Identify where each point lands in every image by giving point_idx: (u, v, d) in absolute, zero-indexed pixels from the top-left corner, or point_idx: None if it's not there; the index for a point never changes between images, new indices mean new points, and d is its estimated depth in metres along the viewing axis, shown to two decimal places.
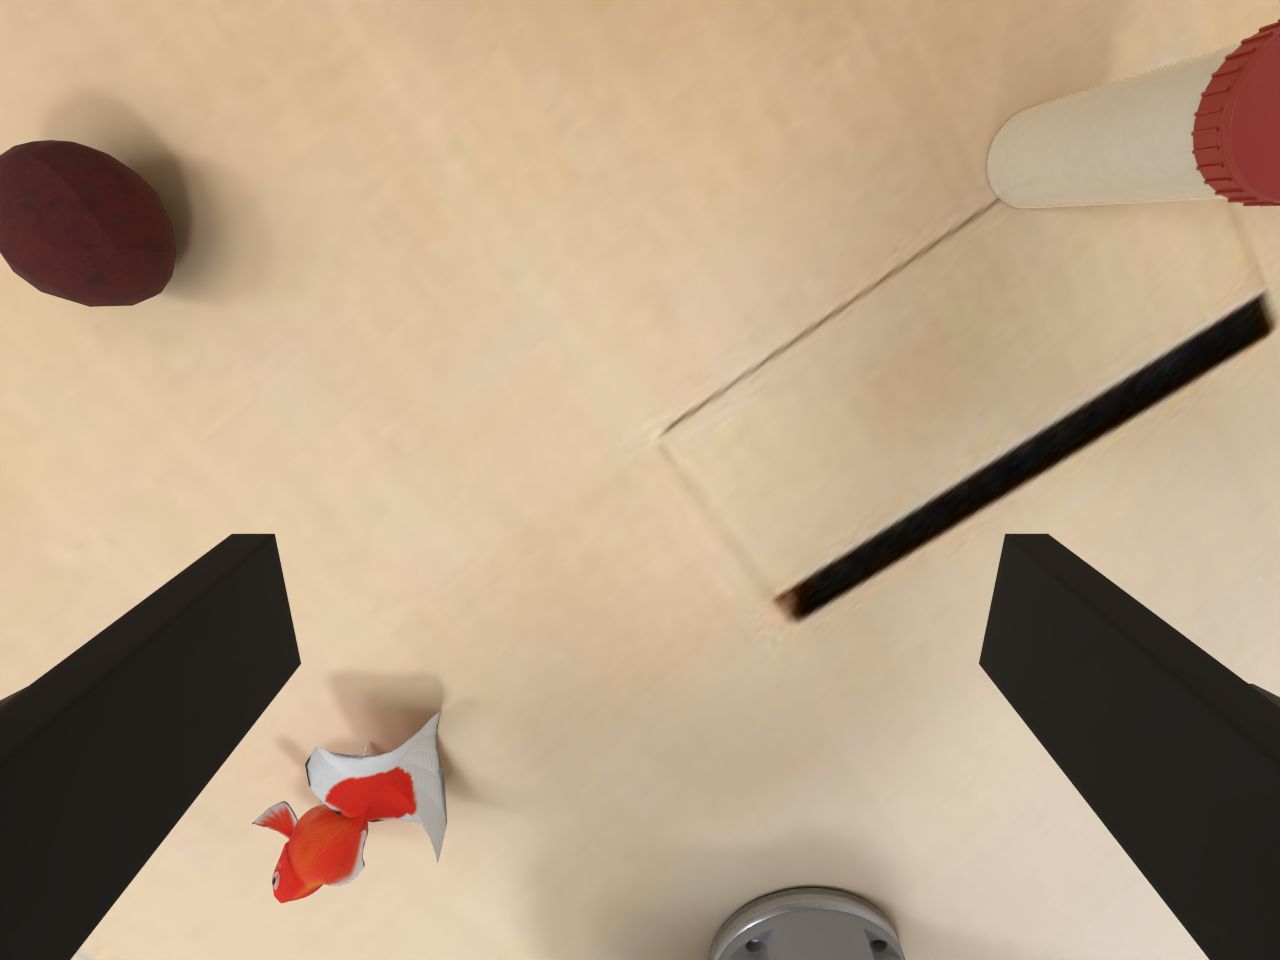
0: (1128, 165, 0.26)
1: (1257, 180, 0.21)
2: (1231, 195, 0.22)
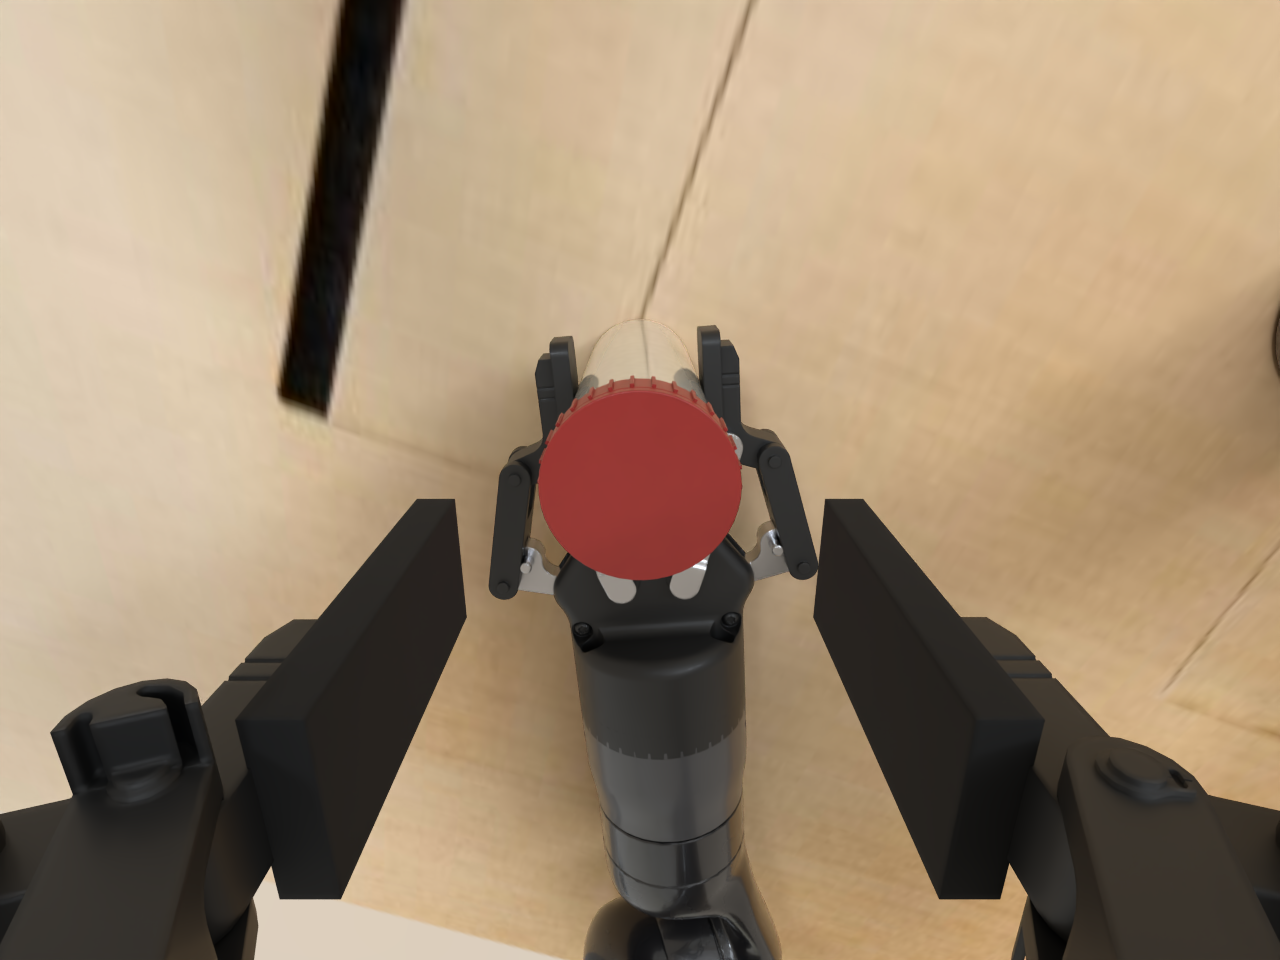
0: (673, 369, 0.22)
1: (637, 399, 0.17)
2: (622, 382, 0.18)
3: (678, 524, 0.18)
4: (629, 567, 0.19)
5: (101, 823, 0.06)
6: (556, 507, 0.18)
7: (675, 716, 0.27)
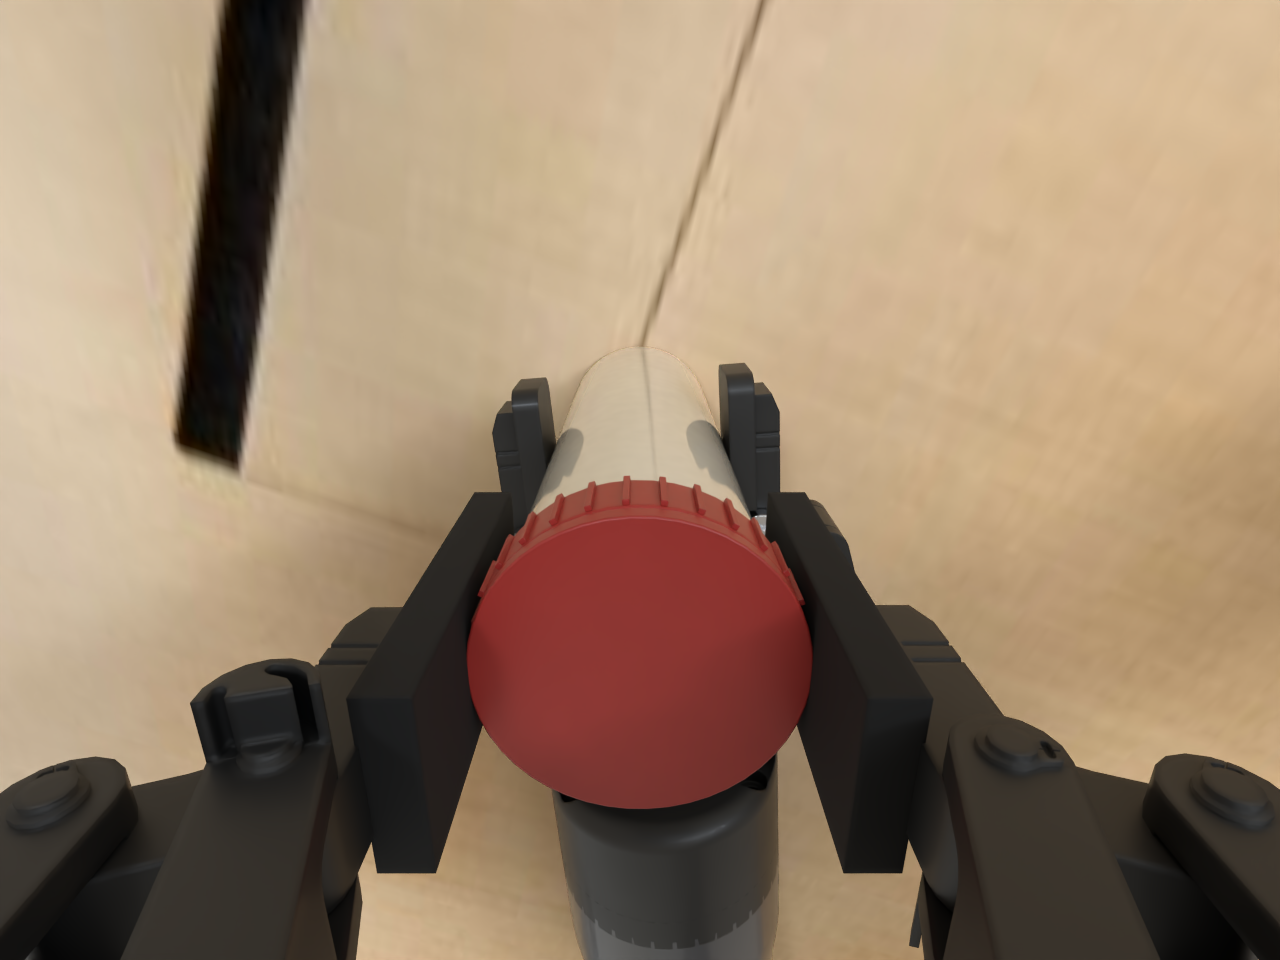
0: (689, 441, 0.14)
1: (635, 531, 0.10)
2: (610, 490, 0.11)
3: (704, 726, 0.11)
4: (622, 790, 0.11)
5: (232, 792, 0.07)
6: (498, 702, 0.11)
7: (687, 897, 0.20)
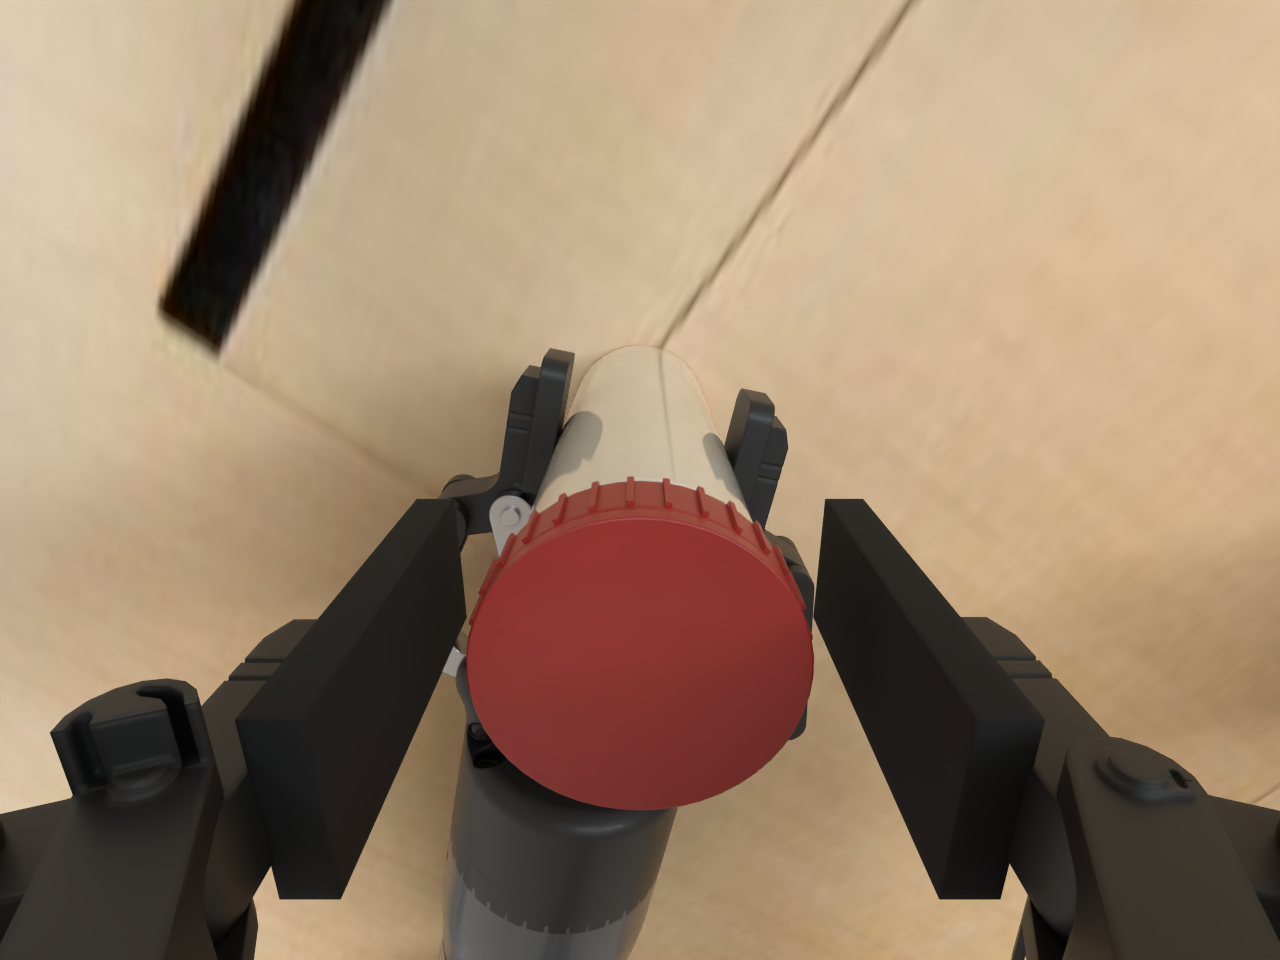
0: (714, 453, 0.15)
1: (482, 691, 0.10)
2: None
3: (698, 615, 0.10)
4: (787, 681, 0.10)
5: (100, 823, 0.06)
6: (680, 787, 0.11)
7: (573, 885, 0.20)
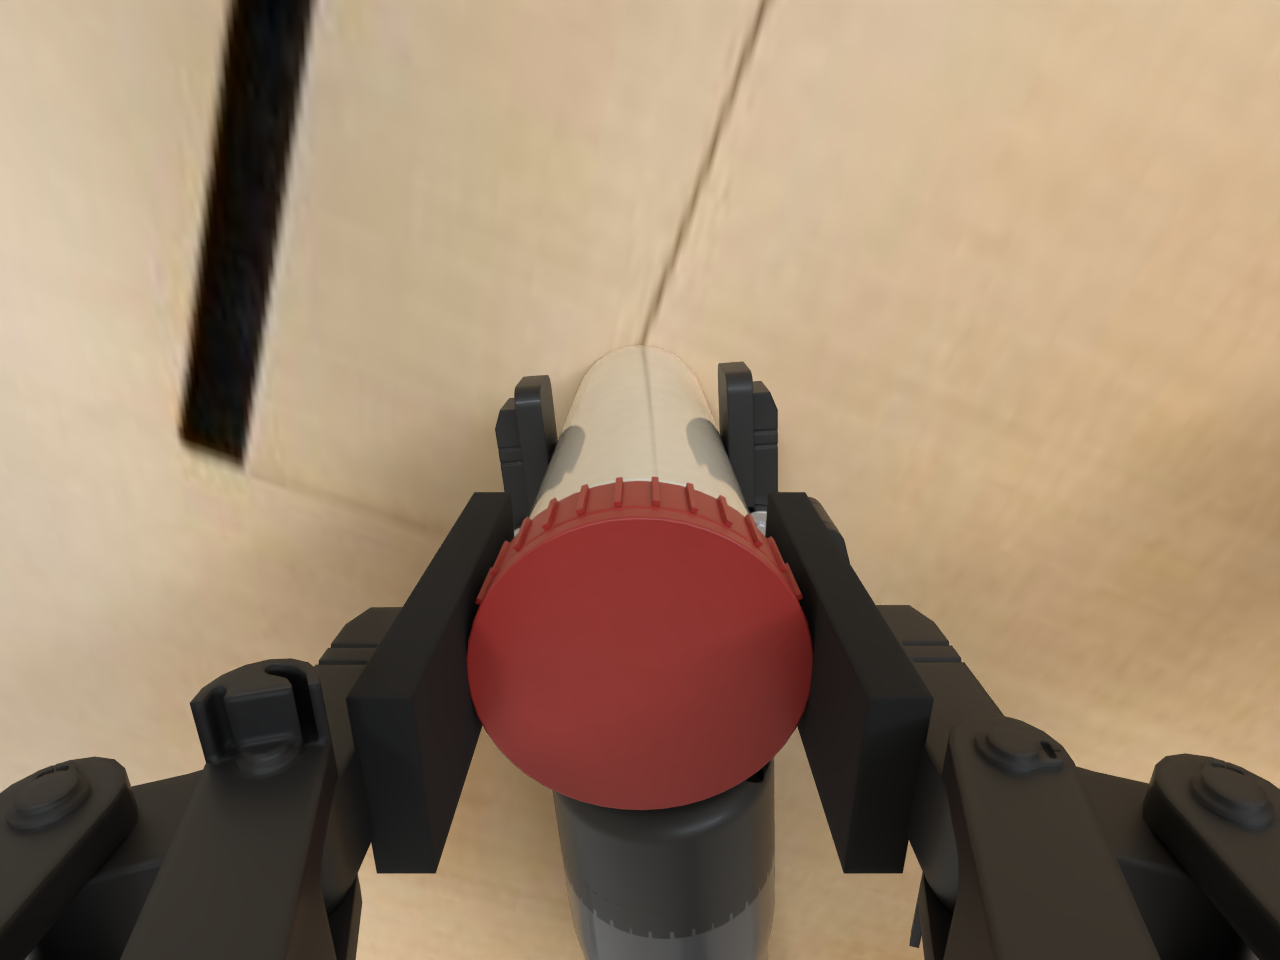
0: (689, 437, 0.15)
1: (497, 726, 0.11)
2: None
3: (677, 602, 0.10)
4: (786, 646, 0.10)
5: (231, 792, 0.07)
6: (715, 774, 0.11)
7: (685, 887, 0.20)
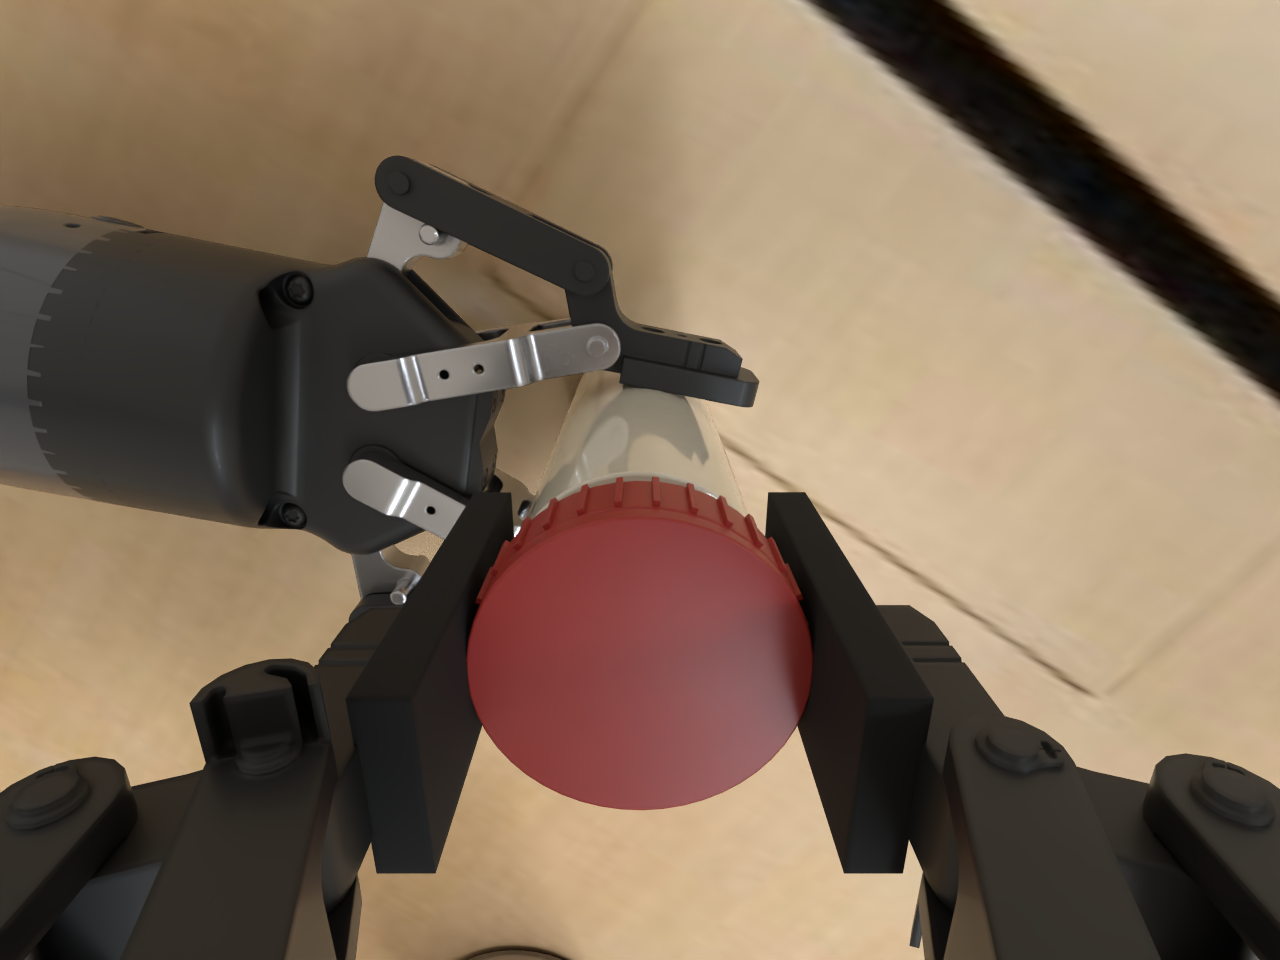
0: None
1: (496, 725, 0.11)
2: None
3: (677, 602, 0.10)
4: (786, 647, 0.10)
5: (231, 792, 0.07)
6: (714, 775, 0.11)
7: (126, 439, 0.16)
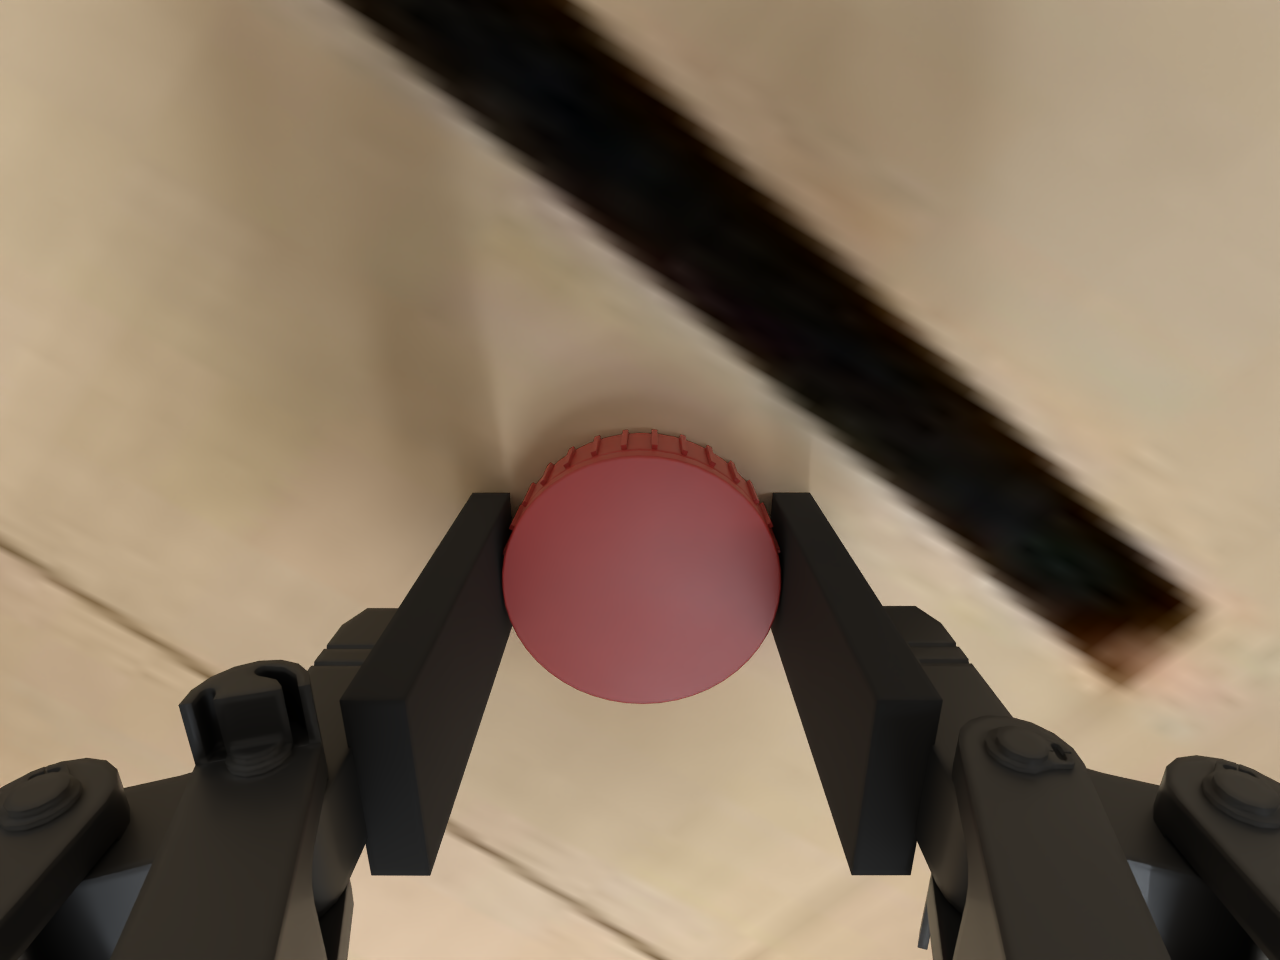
0: None
1: (525, 629, 0.13)
2: None
3: (670, 526, 0.12)
4: (759, 564, 0.13)
5: (221, 794, 0.07)
6: (702, 673, 0.14)
7: None
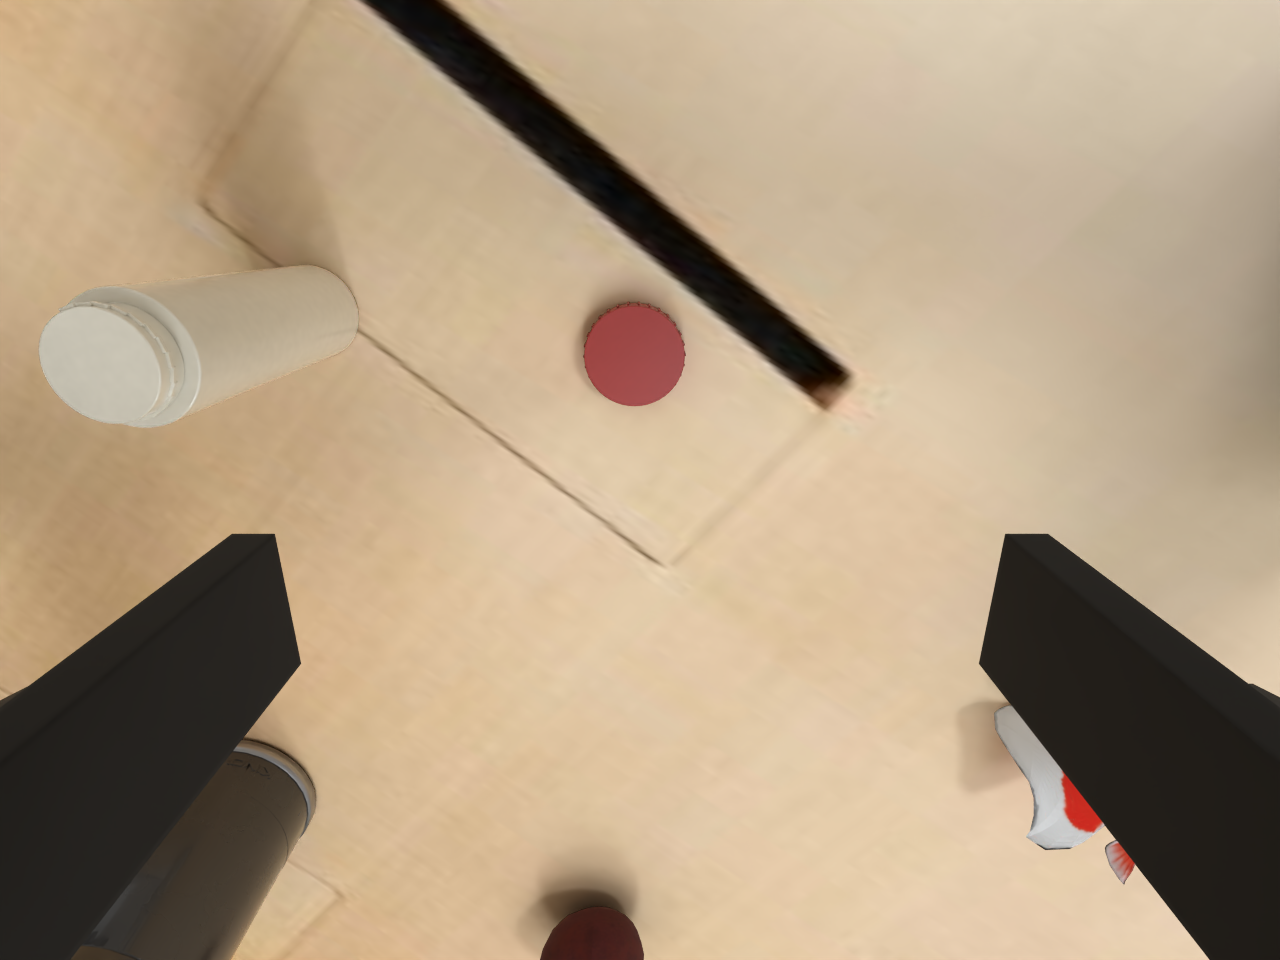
0: (240, 389, 0.27)
1: (592, 374, 0.36)
2: None
3: (644, 332, 0.36)
4: (676, 347, 0.36)
5: None
6: (657, 392, 0.37)
7: None
